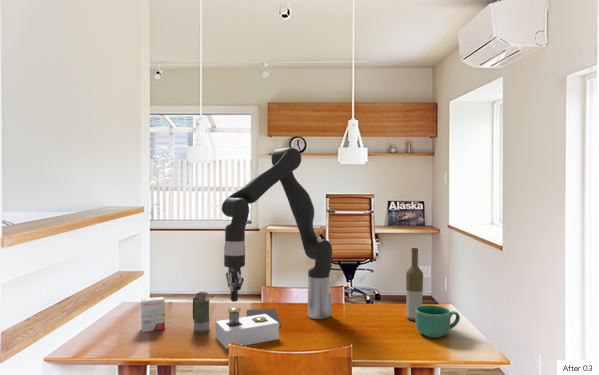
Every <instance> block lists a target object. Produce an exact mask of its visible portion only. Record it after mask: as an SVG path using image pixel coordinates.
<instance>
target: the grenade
mask: <svg viewBox="0 0 599 375" xmlns="http://www.w3.org/2000/svg"><path fill="white" fill-rule="evenodd" d="M208 295H209V293H208V292H206V291H198V292H197V293H196V295H195V296H194V297H193V298H192V320H193V333H194V334H197V335H203V334H207V333H210V298H209V297H207V296H208Z"/></svg>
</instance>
